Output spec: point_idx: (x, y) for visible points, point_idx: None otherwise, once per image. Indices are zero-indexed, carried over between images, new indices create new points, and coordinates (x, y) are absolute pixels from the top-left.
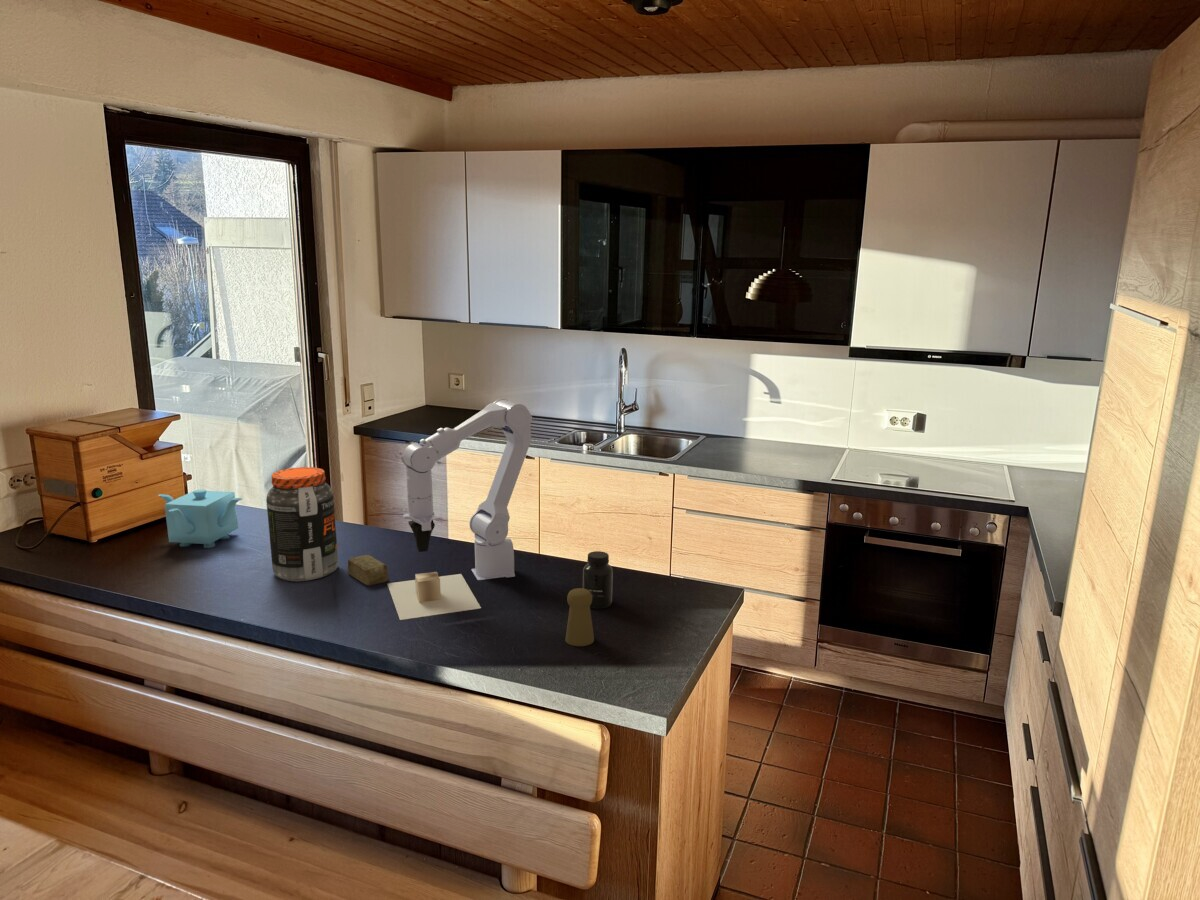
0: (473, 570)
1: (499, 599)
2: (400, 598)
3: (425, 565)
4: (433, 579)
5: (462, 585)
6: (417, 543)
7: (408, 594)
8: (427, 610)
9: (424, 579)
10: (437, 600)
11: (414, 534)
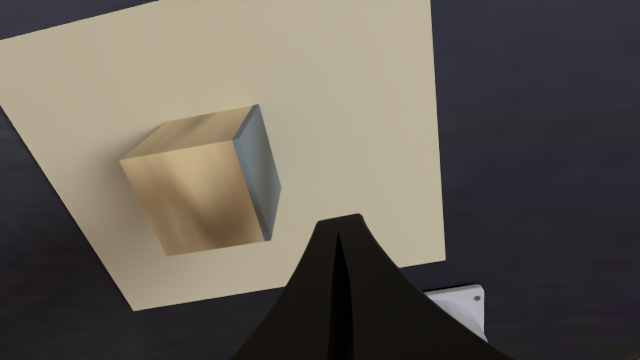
0: (464, 294)
1: (223, 343)
2: (209, 32)
3: (628, 122)
4: (161, 230)
5: None
6: (296, 269)
7: (257, 68)
8: (88, 158)
9: (158, 190)
10: None
11: (257, 346)
